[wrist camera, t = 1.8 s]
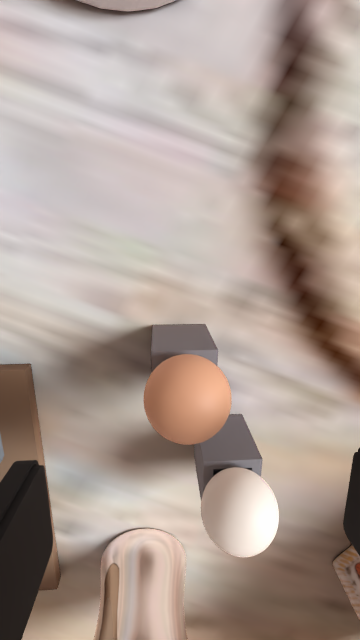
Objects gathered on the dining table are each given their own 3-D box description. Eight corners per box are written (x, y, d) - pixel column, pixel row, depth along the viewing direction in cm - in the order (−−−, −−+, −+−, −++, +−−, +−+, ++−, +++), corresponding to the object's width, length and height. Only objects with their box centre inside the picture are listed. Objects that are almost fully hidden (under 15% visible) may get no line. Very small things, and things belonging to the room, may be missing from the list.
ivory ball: (197, 452, 16) (207, 514, 12) (266, 449, 16) (296, 510, 13) (196, 509, 17) (205, 581, 13) (261, 505, 17) (287, 575, 14)
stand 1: (152, 324, 18) (151, 351, 14) (205, 324, 18) (218, 349, 14) (153, 373, 18) (152, 411, 15) (204, 372, 19) (215, 408, 15)
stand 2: (194, 416, 19) (203, 461, 16) (242, 414, 20) (262, 459, 16) (194, 456, 20) (202, 509, 16) (239, 454, 20) (258, 506, 17)
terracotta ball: (144, 342, 14) (139, 379, 11) (223, 341, 14) (244, 376, 11) (146, 413, 15) (143, 467, 12) (220, 410, 15) (238, 463, 12)
